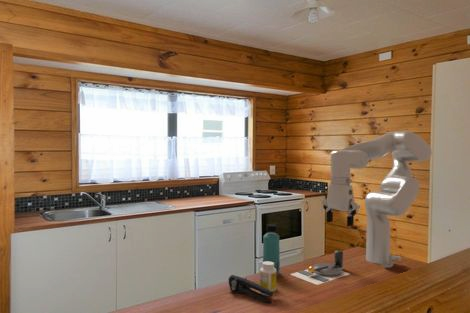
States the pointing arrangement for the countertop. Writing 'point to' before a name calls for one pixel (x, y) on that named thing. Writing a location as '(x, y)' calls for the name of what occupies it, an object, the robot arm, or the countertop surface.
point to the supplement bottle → (268, 276)
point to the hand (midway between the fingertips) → (339, 223)
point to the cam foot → (329, 266)
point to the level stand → (316, 277)
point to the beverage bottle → (271, 247)
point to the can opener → (248, 288)
